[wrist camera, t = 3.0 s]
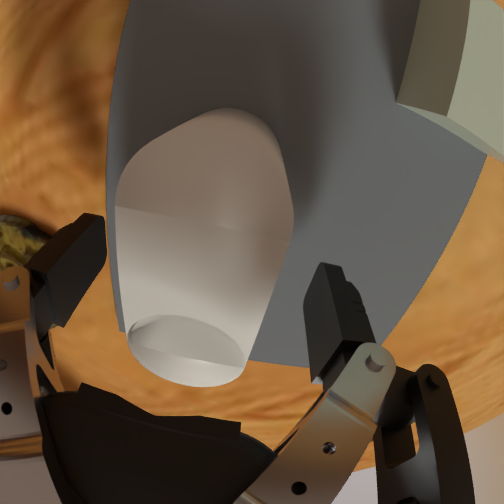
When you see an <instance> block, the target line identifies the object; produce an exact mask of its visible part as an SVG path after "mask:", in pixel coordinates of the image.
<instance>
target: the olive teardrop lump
mask: <svg viewBox="0 0 504 504" xmlns="http://www.w3.org/2000/svg"><path fill="white" fill-rule="evenodd" d="M49 239H50V237H49V236H48V235H47V234H45V233H41V232H40V231H39V230H38V229H37V228H36V226H35V224H34V223H32V222H31V221H30V220H27V219H24V218H21V217H18V216H13V215H0V272H2V271H3V270H5V269H7V268H9V267H12V266H21V267H24V266H25V264H26V263H27V262H28V261H29V260H30V259H31V258H32V257H33V256H34V255H35V254H36V253H37V252H38V250H39V249H40V248H41V247H42V246H43V245H46V242H47V241H48V240H49ZM56 326H58V325H56V324H52V325H51V327H50V329H52V328H54V327H56Z"/></svg>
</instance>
